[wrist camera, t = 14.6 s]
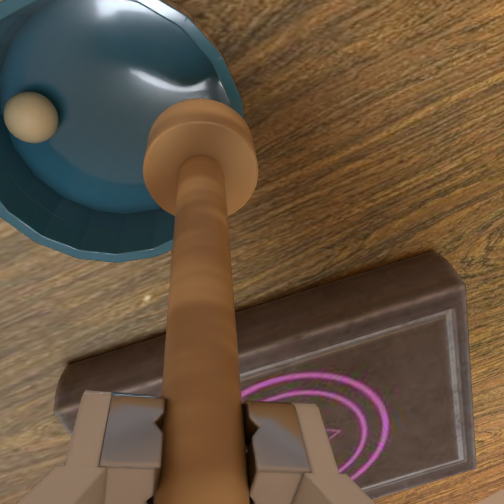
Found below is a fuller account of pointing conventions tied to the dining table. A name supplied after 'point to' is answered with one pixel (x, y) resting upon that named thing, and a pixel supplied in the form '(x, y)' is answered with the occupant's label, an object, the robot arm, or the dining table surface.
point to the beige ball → (31, 117)
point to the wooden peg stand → (201, 299)
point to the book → (343, 370)
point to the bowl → (98, 118)
